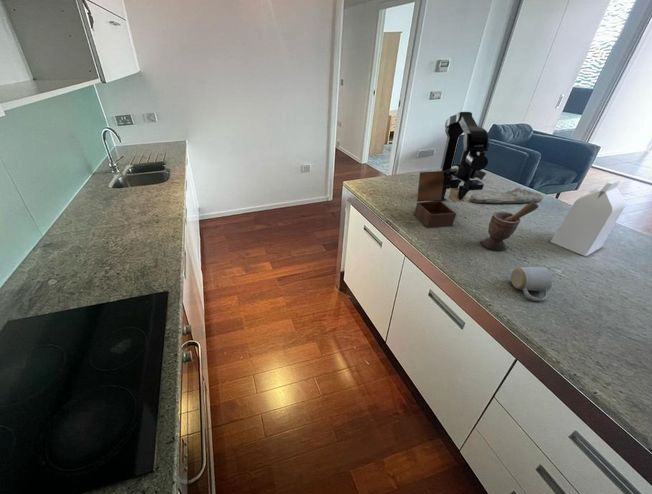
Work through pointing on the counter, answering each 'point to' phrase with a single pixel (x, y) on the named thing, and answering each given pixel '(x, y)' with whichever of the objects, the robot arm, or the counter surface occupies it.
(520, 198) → the elongated rock
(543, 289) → the ceramic mug
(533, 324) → the counter surface
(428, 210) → the chest
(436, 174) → the lid
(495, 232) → the mortar and pestle
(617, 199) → the milk
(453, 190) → the block
